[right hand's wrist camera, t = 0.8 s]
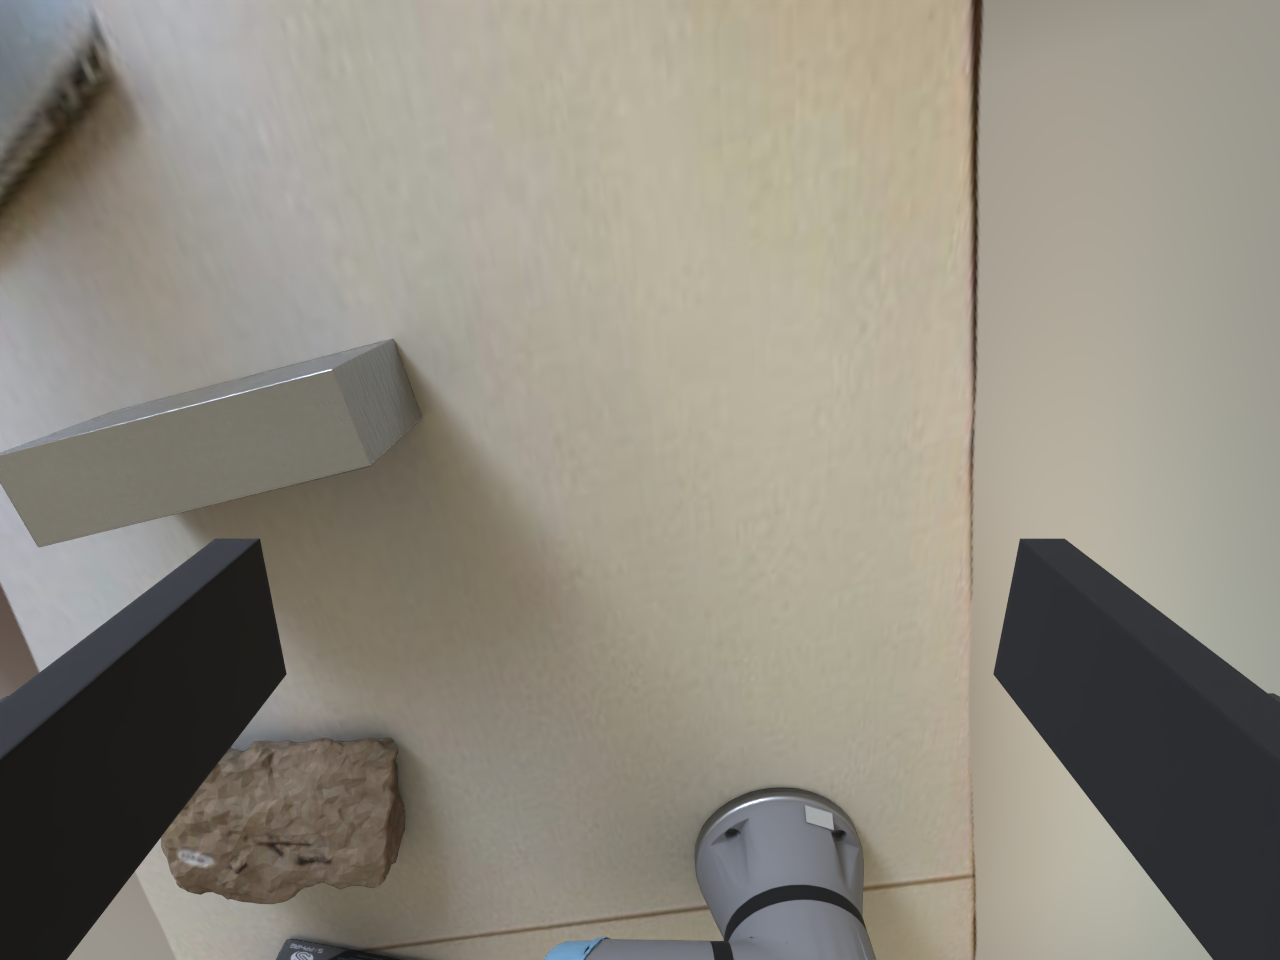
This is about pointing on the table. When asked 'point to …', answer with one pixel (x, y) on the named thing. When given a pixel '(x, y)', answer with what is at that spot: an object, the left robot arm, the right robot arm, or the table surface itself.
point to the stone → (290, 820)
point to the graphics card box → (321, 952)
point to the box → (212, 444)
